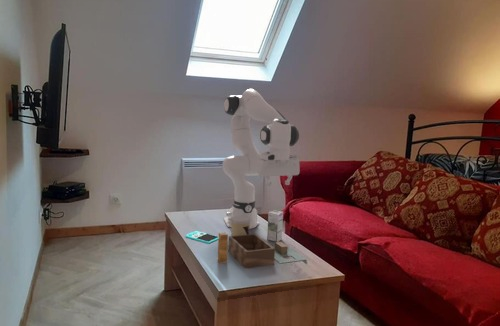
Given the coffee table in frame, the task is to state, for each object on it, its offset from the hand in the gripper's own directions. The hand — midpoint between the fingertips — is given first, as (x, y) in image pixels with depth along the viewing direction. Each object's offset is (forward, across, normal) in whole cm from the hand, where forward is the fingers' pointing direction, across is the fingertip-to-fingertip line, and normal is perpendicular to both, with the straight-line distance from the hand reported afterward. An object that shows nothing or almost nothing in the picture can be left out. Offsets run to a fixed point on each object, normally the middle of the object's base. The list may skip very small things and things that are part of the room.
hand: (278, 185), depth 187 cm
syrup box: (+31, -6, -12) cm, 34 cm away
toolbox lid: (+31, 0, +8) cm, 32 cm away
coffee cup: (+31, +12, -14) cm, 36 cm away
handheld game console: (+32, +27, -26) cm, 49 cm away
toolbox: (+31, +16, +8) cm, 36 cm away
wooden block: (+31, +29, +8) cm, 43 cm away
